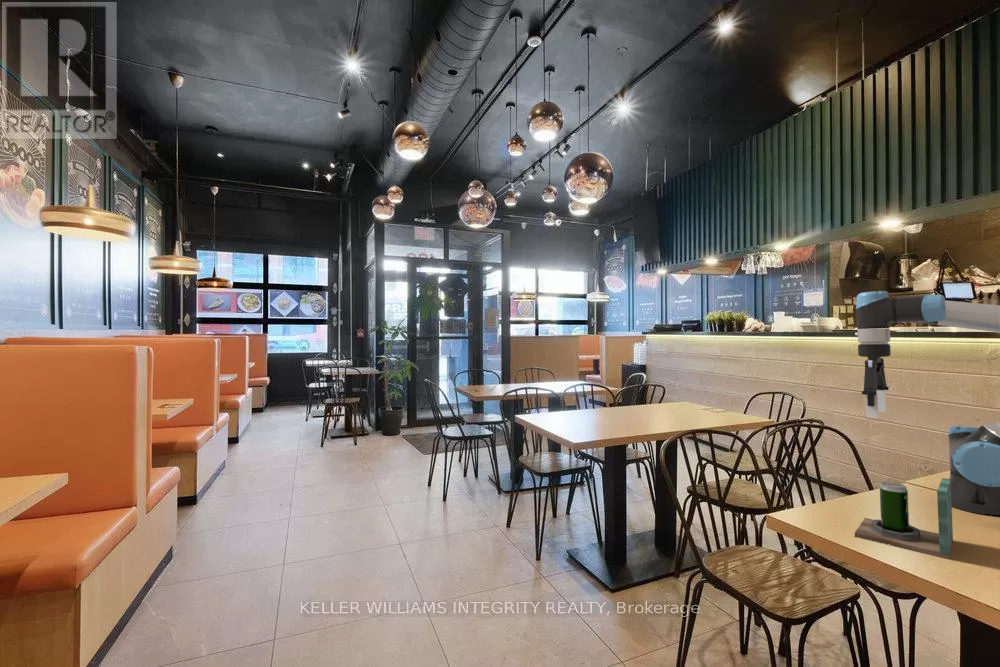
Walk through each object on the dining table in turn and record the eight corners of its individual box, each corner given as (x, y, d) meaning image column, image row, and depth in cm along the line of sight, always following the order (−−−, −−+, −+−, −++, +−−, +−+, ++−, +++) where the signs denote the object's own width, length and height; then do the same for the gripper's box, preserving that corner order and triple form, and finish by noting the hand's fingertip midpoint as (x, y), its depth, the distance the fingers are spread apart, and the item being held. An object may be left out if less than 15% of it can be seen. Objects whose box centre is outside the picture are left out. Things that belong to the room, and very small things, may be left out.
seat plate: (865, 521, 124) (862, 466, 124) (953, 540, 111) (950, 479, 111) (854, 536, 115) (852, 477, 115) (949, 559, 102) (946, 492, 103)
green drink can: (884, 534, 113) (882, 486, 113) (878, 526, 118) (877, 480, 118) (912, 539, 111) (910, 489, 111) (906, 530, 115) (904, 483, 115)
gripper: (866, 342, 148) (868, 407, 147) (848, 344, 131) (851, 418, 131) (896, 342, 142) (899, 410, 142) (882, 344, 125) (885, 421, 125)
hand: (876, 414), depth 136 cm, fingers open, 13 cm apart
